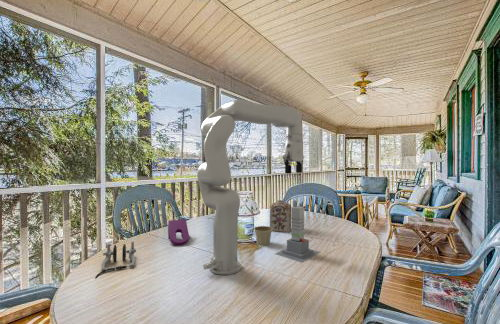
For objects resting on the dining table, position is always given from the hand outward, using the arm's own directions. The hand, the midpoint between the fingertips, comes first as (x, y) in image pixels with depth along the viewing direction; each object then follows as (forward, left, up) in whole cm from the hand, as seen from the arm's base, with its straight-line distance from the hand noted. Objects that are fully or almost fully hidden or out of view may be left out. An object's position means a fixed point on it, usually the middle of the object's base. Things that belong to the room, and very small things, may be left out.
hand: (293, 173), depth 127 cm
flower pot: (-9, +12, -37) cm, 40 cm away
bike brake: (-67, +40, -37) cm, 86 cm away
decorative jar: (+22, +23, -37) cm, 49 cm away
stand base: (-9, -8, -36) cm, 38 cm away
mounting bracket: (-33, +51, -37) cm, 71 cm away
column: (-9, -8, -29) cm, 32 cm away
